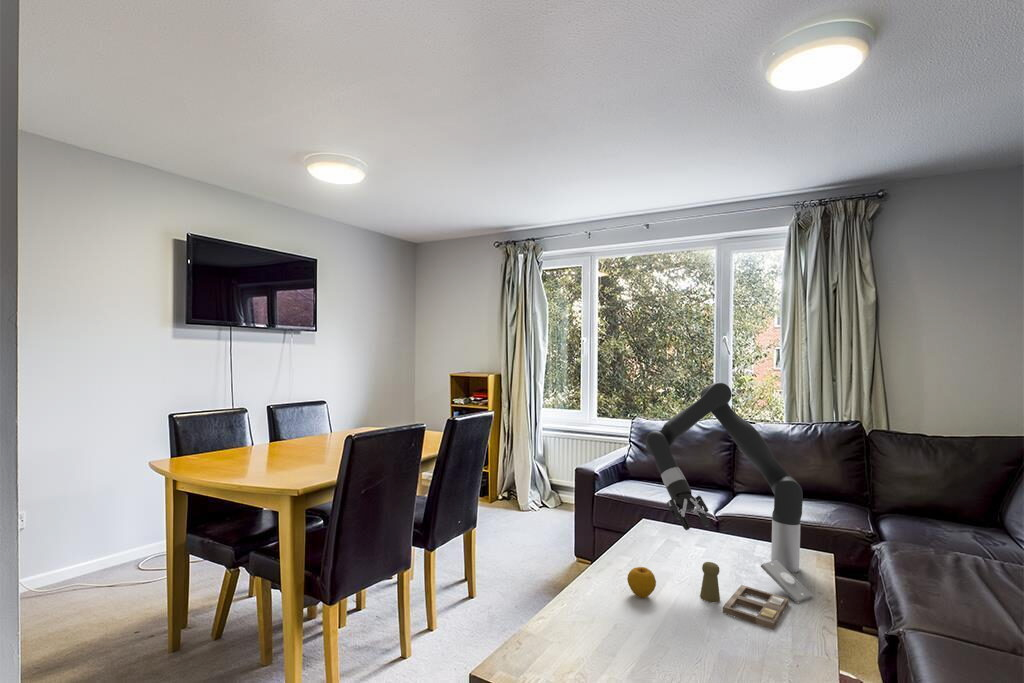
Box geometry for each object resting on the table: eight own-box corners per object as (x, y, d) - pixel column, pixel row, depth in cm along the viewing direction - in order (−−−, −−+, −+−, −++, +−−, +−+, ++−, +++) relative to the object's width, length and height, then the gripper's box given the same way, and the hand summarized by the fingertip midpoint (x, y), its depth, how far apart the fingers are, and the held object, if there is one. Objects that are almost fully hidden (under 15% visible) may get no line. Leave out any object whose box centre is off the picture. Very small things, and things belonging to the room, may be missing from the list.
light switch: (799, 599, 163) (762, 562, 174) (790, 611, 165) (754, 574, 176) (814, 593, 167) (777, 557, 178) (805, 605, 170) (769, 569, 181)
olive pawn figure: (696, 593, 168) (697, 559, 168) (714, 593, 168) (715, 559, 169) (705, 602, 162) (706, 567, 162) (723, 602, 162) (724, 567, 163)
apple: (633, 587, 171) (634, 559, 171) (659, 595, 166) (660, 567, 166) (622, 596, 164) (623, 568, 164) (649, 605, 159) (650, 576, 159)
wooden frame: (741, 590, 171) (741, 583, 171) (788, 604, 163) (788, 597, 163) (722, 612, 156) (722, 605, 156) (773, 629, 147) (773, 621, 147)
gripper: (685, 486, 189) (707, 529, 179) (654, 490, 183) (675, 535, 173) (697, 476, 184) (720, 520, 174) (665, 480, 178) (688, 525, 168)
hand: (697, 527), depth 173 cm, fingers open, 8 cm apart
